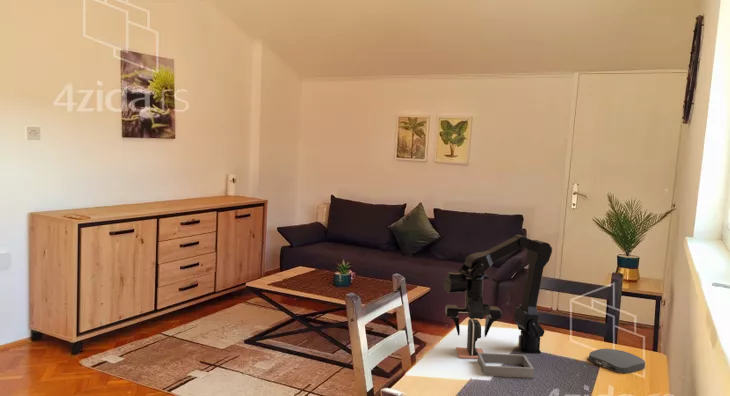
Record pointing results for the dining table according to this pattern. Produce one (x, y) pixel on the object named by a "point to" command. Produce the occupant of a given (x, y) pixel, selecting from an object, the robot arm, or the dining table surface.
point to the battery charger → (473, 335)
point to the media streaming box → (617, 360)
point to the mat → (467, 353)
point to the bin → (505, 370)
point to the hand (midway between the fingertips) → (471, 335)
